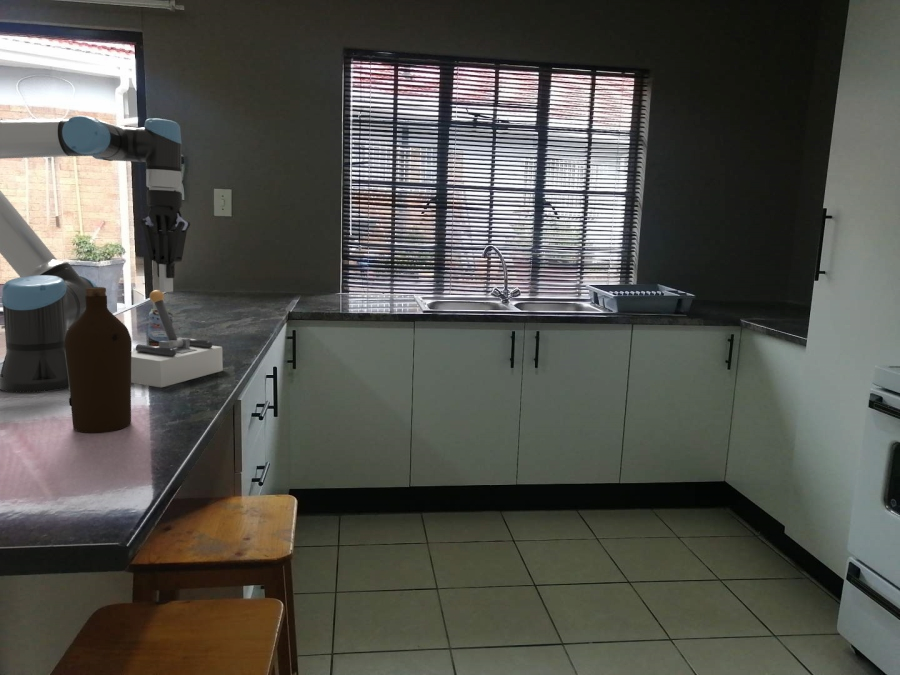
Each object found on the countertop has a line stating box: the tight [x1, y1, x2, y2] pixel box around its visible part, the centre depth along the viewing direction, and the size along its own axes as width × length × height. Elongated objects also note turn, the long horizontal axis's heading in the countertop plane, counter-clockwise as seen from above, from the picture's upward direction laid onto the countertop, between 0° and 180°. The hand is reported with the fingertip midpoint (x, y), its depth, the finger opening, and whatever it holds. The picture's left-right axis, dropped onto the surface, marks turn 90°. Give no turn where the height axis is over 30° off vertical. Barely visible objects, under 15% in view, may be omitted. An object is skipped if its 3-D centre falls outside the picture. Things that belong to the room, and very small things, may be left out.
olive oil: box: [64, 286, 133, 434], centre depth 121 cm, size 11×11×25 cm
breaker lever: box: [149, 289, 183, 348], centre depth 162 cm, size 4×3×15 cm
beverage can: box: [147, 308, 173, 347], centre depth 188 cm, size 6×7×12 cm
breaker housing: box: [131, 336, 224, 388], centre depth 161 cm, size 20×13×8 cm, turn 158°
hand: (166, 291), depth 160 cm, fingers closed
